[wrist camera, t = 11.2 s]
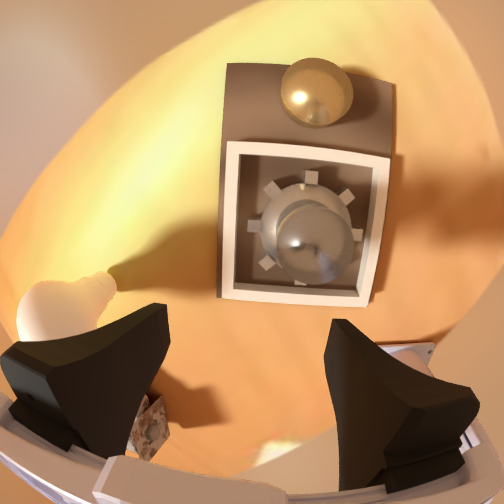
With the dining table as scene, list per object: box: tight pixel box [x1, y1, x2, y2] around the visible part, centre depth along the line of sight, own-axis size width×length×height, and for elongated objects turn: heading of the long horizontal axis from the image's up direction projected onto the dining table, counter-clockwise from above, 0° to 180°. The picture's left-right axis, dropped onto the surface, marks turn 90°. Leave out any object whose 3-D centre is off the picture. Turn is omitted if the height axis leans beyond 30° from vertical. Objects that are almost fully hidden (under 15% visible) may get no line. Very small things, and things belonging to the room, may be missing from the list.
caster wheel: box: [126, 394, 170, 461], centre depth 24 cm, size 7×11×10 cm
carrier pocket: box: [222, 141, 390, 307], centre depth 18 cm, size 11×11×1 cm
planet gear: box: [247, 170, 363, 285], centre depth 16 cm, size 8×8×6 cm
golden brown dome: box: [280, 58, 353, 129], centre depth 15 cm, size 4×4×2 cm
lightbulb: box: [16, 271, 117, 341], centre depth 17 cm, size 6×6×11 cm
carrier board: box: [217, 63, 393, 307], centre depth 18 cm, size 18×12×1 cm
